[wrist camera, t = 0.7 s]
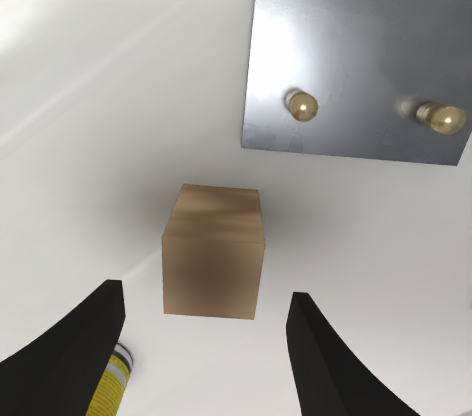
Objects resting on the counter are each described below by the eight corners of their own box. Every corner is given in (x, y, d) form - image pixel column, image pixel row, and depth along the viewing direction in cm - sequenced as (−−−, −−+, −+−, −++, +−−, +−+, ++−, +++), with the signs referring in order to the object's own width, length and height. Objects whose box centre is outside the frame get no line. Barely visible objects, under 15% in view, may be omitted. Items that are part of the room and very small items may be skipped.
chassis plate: (563, -123, 12) (645, -167, 10) (448, 161, 18) (482, 179, 15) (269, -157, 12) (277, -212, 10) (241, 144, 17) (241, 159, 15)
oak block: (257, 189, 19) (265, 244, 13) (249, 250, 21) (254, 319, 15) (183, 183, 19) (161, 236, 13) (183, 246, 21) (163, 313, 15)
